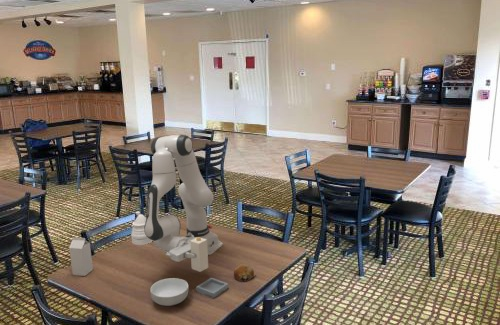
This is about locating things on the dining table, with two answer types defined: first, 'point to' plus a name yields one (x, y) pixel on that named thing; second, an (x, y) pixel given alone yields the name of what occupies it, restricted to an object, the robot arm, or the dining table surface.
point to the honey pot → (139, 230)
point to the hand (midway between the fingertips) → (200, 253)
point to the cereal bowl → (169, 291)
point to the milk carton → (80, 257)
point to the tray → (212, 287)
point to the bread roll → (243, 272)
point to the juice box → (199, 254)
